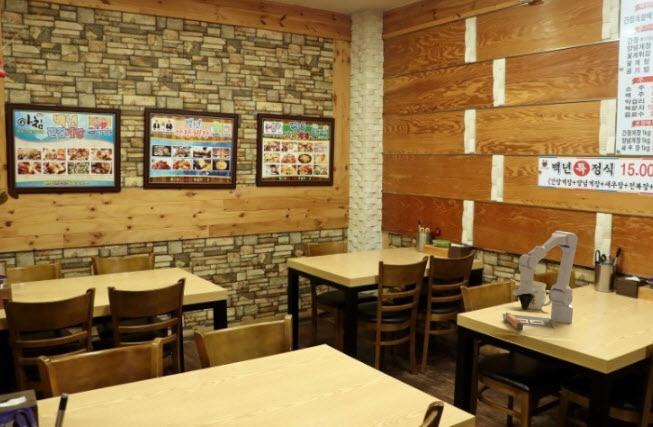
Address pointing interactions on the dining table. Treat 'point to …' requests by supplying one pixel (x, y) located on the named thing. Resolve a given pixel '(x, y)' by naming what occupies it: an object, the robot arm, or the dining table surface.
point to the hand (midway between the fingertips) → (524, 309)
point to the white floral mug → (539, 296)
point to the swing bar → (515, 321)
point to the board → (546, 320)
